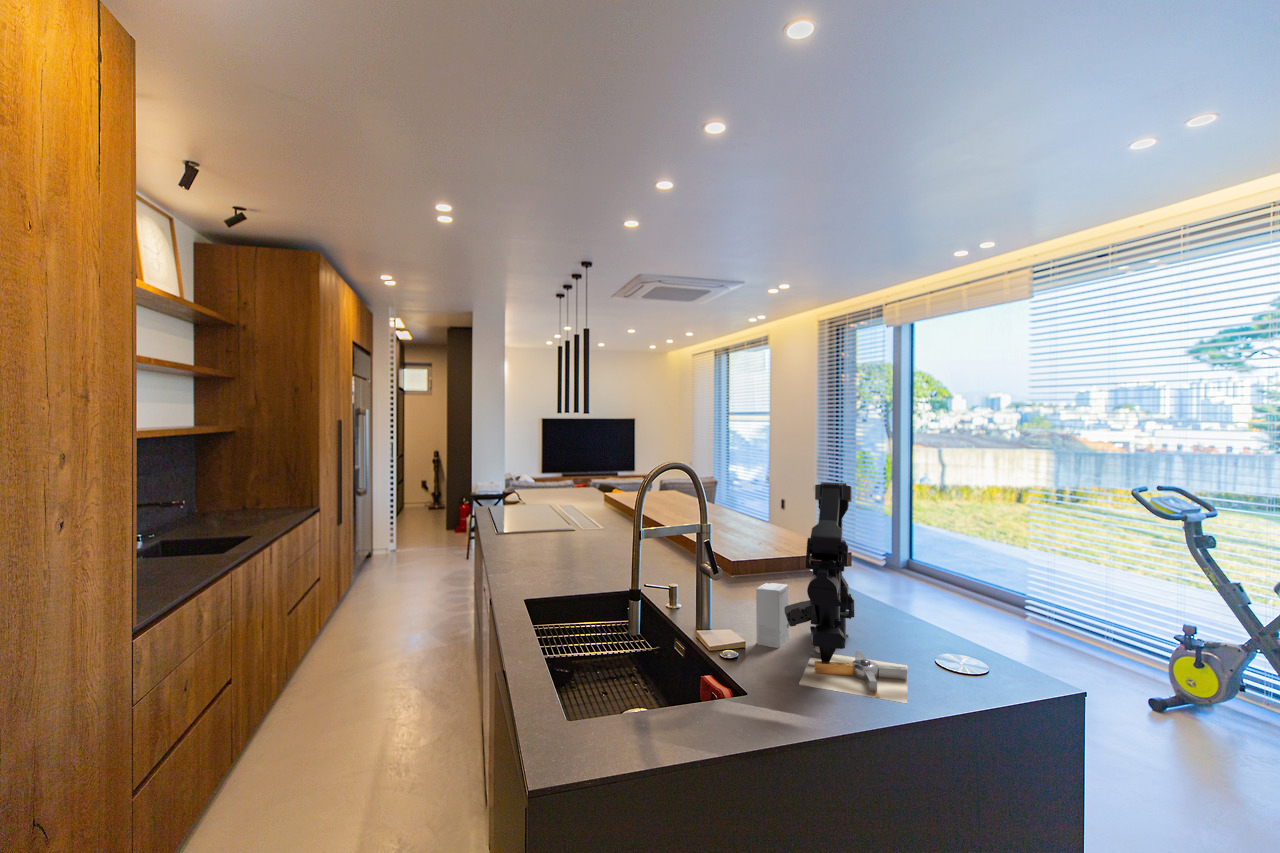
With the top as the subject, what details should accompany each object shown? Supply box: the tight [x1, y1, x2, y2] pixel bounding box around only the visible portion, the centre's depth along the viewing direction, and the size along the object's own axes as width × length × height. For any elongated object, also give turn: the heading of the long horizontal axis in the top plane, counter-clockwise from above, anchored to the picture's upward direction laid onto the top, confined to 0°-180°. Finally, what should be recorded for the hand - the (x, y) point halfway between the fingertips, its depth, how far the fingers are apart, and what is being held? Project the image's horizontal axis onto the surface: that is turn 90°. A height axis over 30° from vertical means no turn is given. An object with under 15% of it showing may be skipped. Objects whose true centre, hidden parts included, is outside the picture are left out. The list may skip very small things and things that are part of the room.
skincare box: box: [755, 582, 790, 649], centre depth 146 cm, size 8×6×15 cm
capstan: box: [814, 651, 908, 692], centre depth 125 cm, size 16×18×3 cm
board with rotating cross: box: [798, 646, 909, 704], centre depth 125 cm, size 20×20×4 cm
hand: (824, 665), depth 127 cm, fingers closed
